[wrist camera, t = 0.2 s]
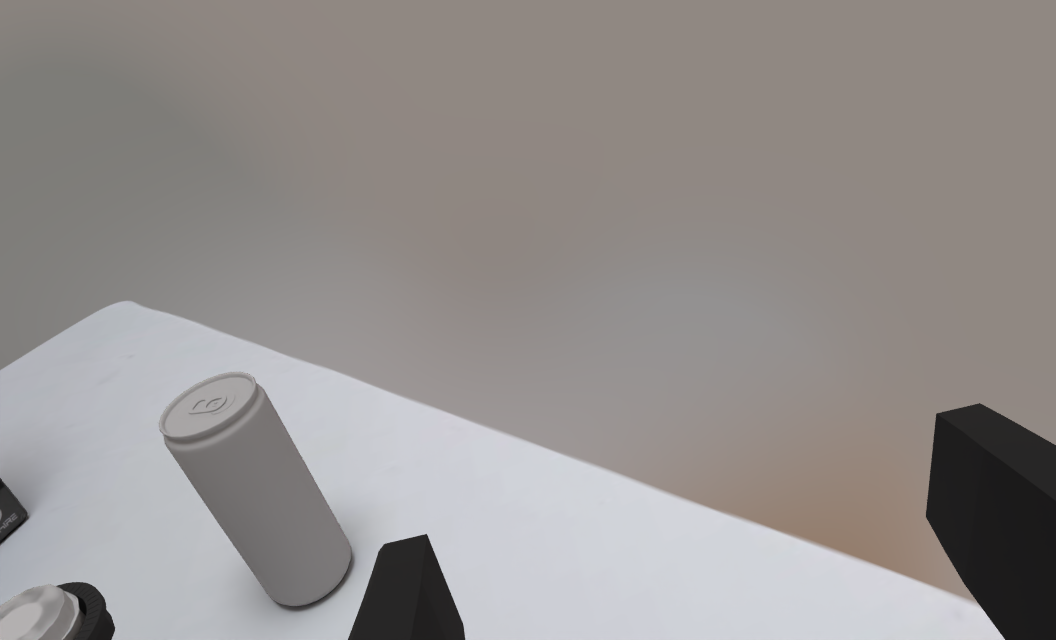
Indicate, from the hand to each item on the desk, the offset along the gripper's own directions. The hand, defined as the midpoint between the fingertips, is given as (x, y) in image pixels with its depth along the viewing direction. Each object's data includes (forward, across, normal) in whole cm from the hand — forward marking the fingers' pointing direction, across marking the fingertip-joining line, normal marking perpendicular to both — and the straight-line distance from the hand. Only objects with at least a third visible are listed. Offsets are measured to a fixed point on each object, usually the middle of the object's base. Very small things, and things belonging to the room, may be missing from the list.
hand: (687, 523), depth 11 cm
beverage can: (+22, +16, +23) cm, 36 cm away
